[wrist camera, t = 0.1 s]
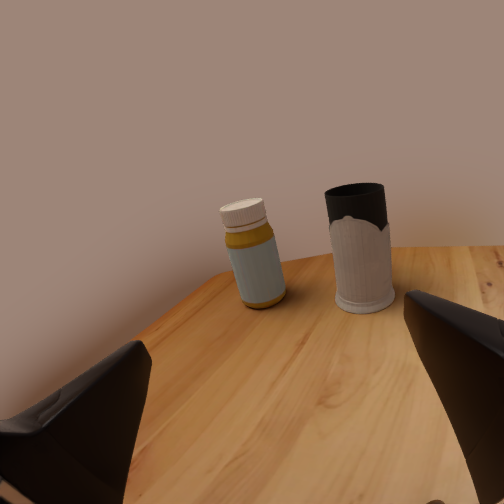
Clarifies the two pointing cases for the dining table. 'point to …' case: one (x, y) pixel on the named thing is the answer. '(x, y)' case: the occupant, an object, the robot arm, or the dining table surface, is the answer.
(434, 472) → the dining table surface
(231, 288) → the dining table surface
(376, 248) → the glass holder
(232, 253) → the bottle
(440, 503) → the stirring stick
